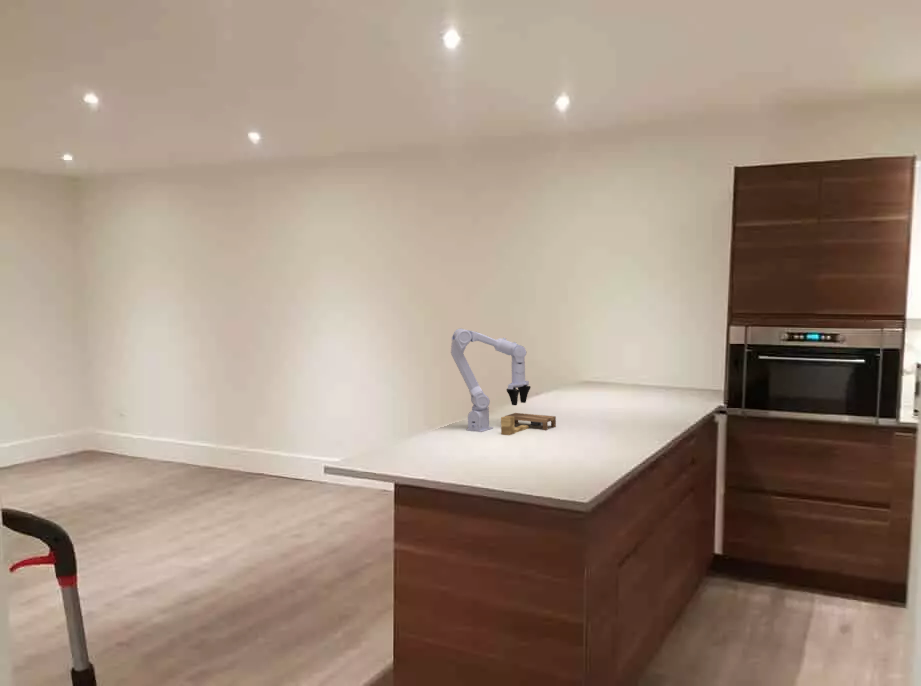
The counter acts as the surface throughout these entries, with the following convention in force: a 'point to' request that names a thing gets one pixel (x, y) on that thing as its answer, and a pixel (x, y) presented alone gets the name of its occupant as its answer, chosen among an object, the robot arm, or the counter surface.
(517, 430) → the tool
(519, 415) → the shelf
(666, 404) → the counter surface
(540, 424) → the plate
